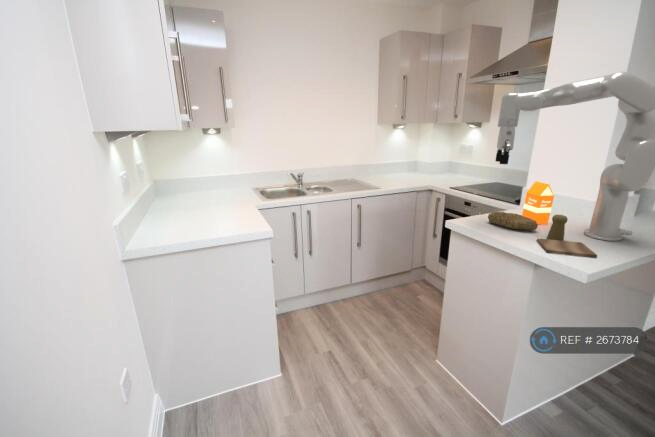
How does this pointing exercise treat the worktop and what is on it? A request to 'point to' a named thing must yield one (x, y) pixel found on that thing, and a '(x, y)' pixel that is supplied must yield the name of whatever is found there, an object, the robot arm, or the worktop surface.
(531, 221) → the sponge
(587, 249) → the walnut board
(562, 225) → the cork
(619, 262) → the worktop surface
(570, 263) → the worktop surface
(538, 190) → the orange juice
